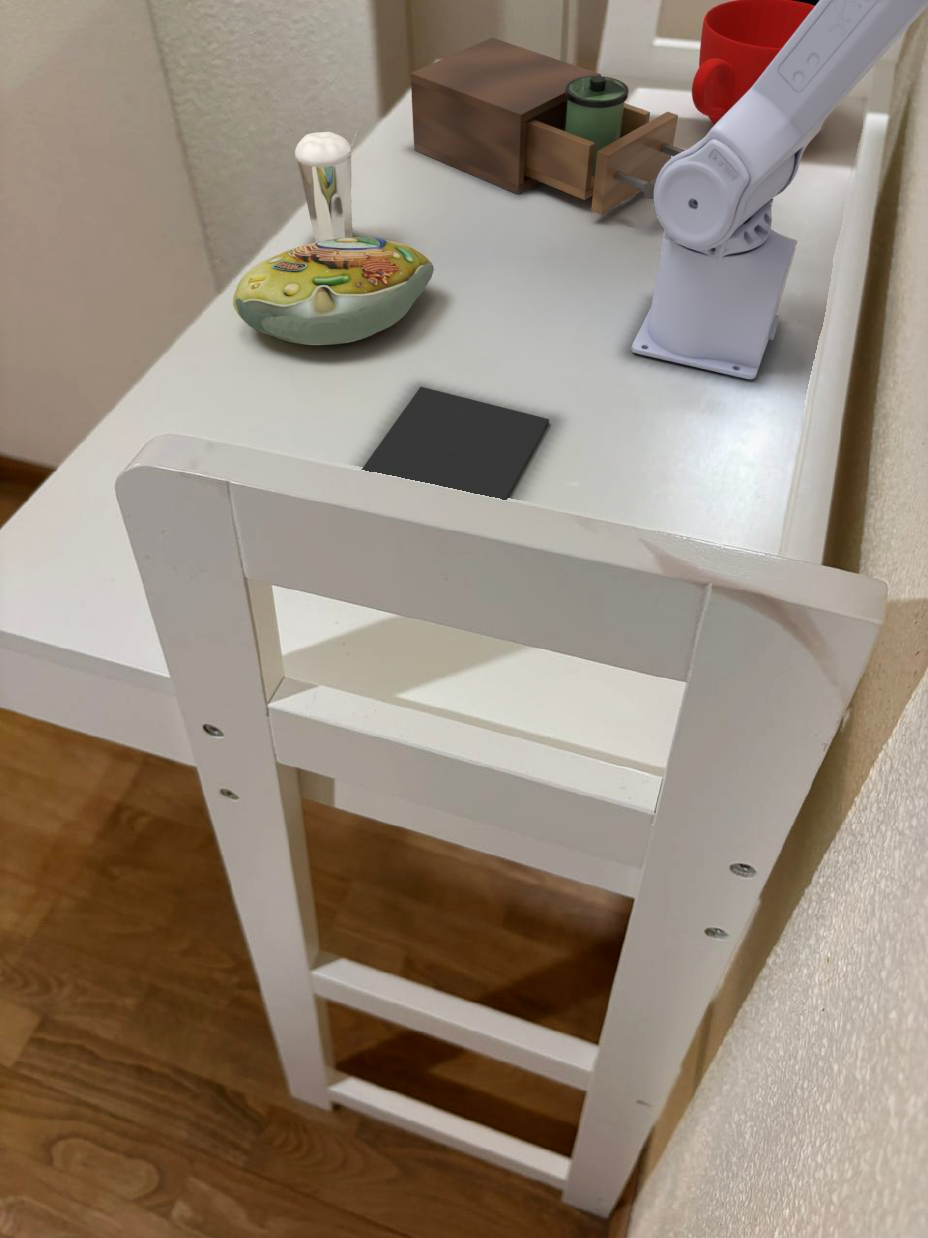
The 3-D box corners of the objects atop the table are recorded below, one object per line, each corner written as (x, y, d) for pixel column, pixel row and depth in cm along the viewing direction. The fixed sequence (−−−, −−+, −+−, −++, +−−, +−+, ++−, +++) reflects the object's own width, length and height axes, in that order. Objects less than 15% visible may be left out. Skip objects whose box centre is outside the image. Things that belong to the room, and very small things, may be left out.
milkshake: (361, 261, 79) (349, 141, 71) (301, 255, 80) (283, 135, 72) (375, 234, 82) (365, 116, 74) (317, 228, 83) (301, 110, 75)
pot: (626, 155, 87) (637, 71, 81) (609, 182, 84) (619, 95, 78) (570, 145, 88) (577, 61, 82) (552, 171, 85) (557, 85, 79)
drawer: (709, 189, 85) (721, 129, 81) (643, 233, 80) (652, 171, 76) (564, 134, 92) (568, 76, 88) (495, 171, 87) (496, 112, 83)
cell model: (218, 273, 74) (378, 171, 72) (272, 353, 79) (423, 258, 78) (232, 321, 65) (413, 206, 64) (292, 406, 71) (461, 301, 69)
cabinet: (593, 151, 92) (601, 73, 86) (517, 194, 86) (521, 114, 81) (490, 112, 97) (492, 36, 92) (414, 150, 92) (410, 72, 87)
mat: (549, 423, 66) (549, 418, 65) (498, 515, 60) (498, 511, 59) (420, 390, 68) (420, 385, 68) (360, 476, 62) (359, 471, 62)
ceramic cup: (632, 143, 93) (647, 31, 85) (737, 95, 100) (760, -13, 92) (736, 189, 87) (762, 73, 79) (840, 134, 93) (874, 23, 86)
